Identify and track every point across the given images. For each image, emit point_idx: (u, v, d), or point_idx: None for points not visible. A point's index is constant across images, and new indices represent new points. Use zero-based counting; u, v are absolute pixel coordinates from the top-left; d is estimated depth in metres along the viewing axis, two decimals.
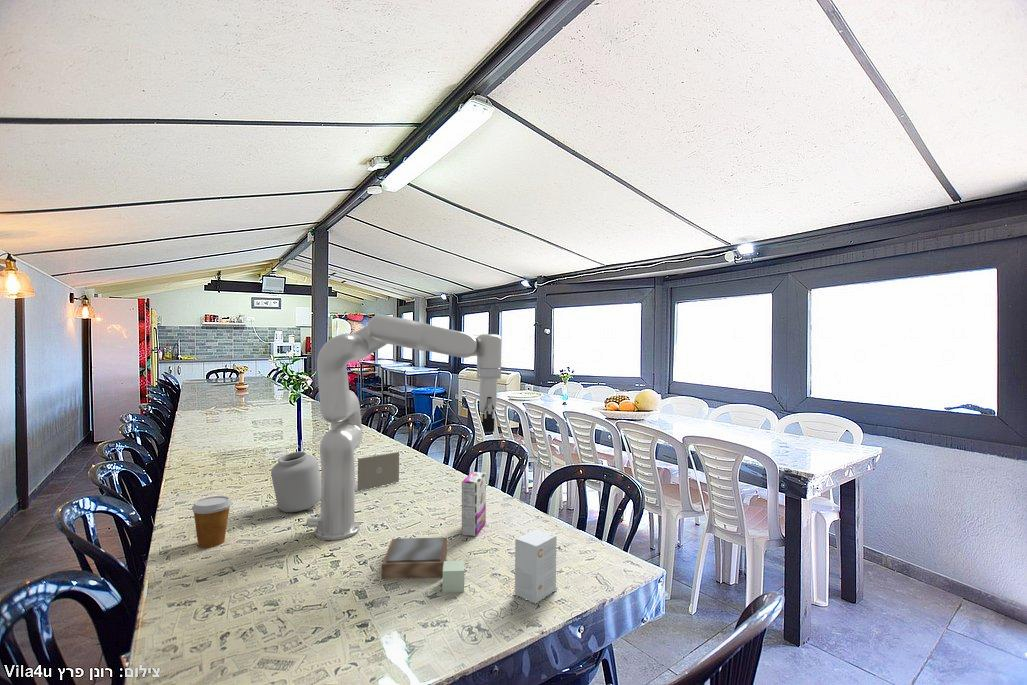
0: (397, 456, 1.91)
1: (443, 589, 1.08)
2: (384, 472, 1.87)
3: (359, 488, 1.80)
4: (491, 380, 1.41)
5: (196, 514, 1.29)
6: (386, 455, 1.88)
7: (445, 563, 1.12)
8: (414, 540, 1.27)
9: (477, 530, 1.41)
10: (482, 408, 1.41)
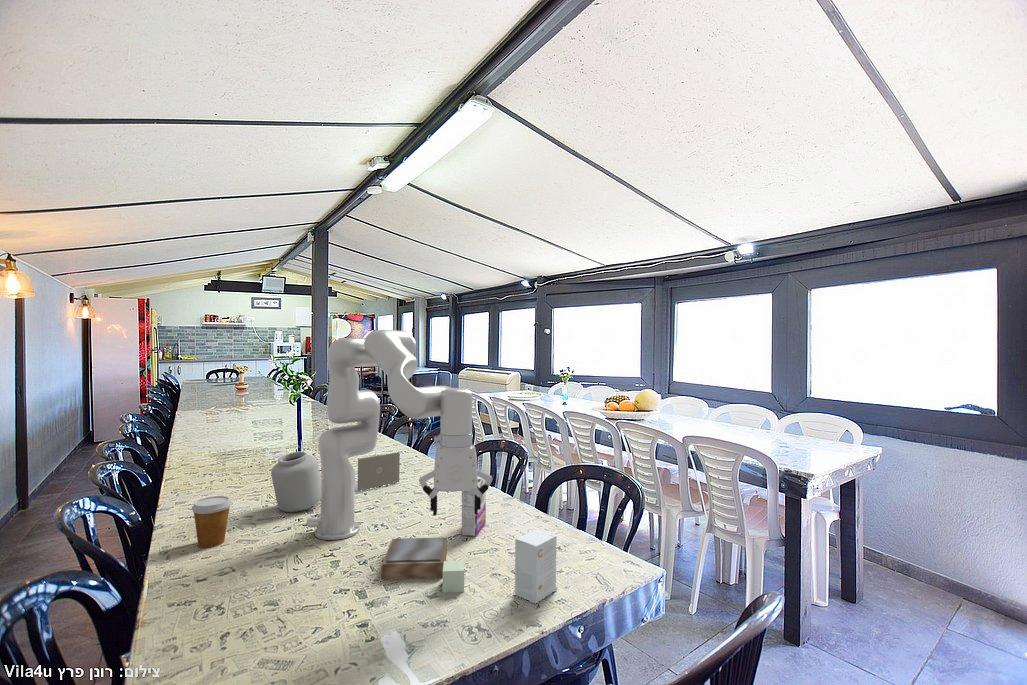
0: (397, 456, 1.91)
1: (443, 589, 1.08)
2: (385, 472, 1.87)
3: (359, 488, 1.80)
4: (474, 447, 1.12)
5: (196, 514, 1.29)
6: (386, 455, 1.88)
7: (445, 563, 1.12)
8: (414, 540, 1.27)
9: (477, 530, 1.41)
10: (476, 485, 1.09)
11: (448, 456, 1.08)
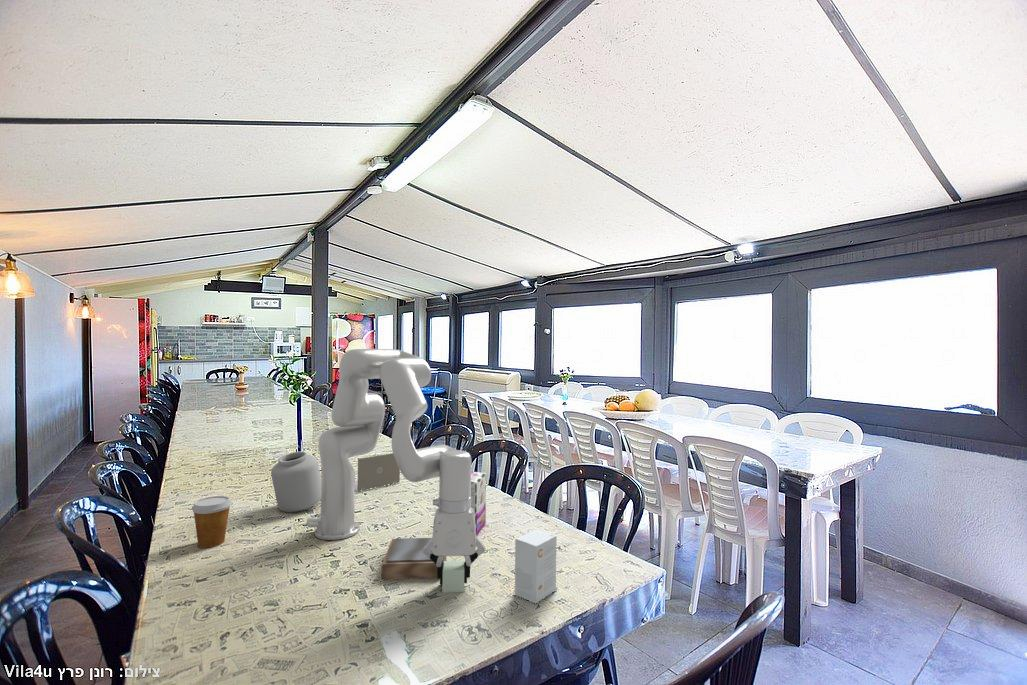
0: None
1: (443, 589, 1.08)
2: (385, 472, 1.87)
3: (359, 488, 1.80)
4: (473, 510, 1.12)
5: (196, 514, 1.29)
6: (386, 455, 1.88)
7: (445, 563, 1.12)
8: (414, 540, 1.27)
9: (477, 530, 1.41)
10: None
11: (446, 521, 1.08)
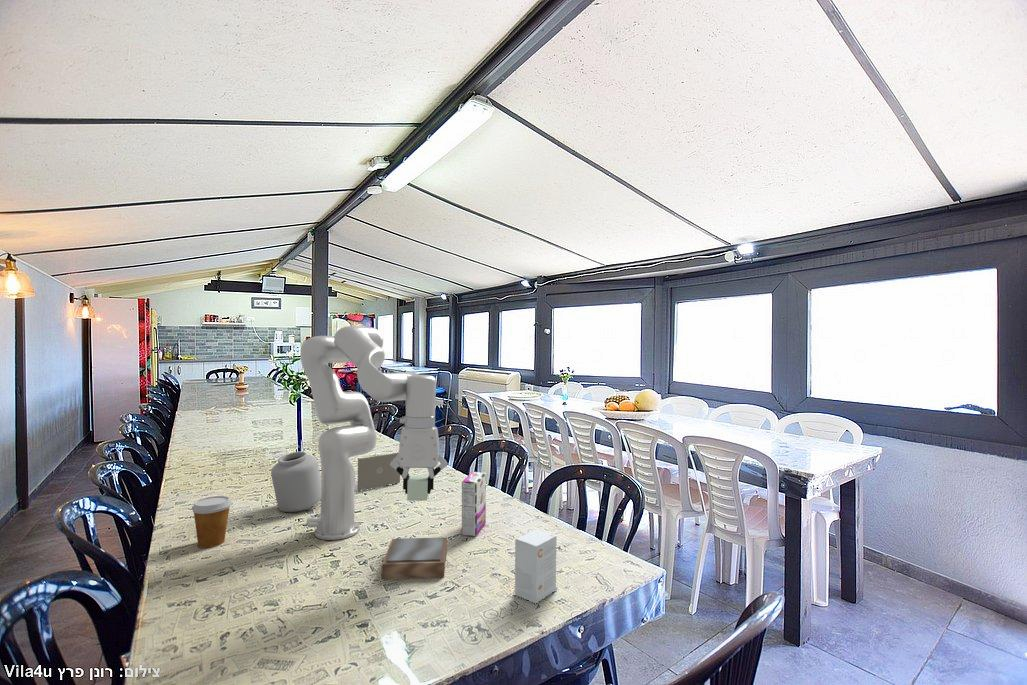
0: None
1: (408, 497, 1.19)
2: (385, 472, 1.87)
3: (359, 488, 1.80)
4: None
5: (196, 514, 1.29)
6: (387, 455, 1.87)
7: (411, 476, 1.23)
8: (414, 540, 1.27)
9: (477, 530, 1.41)
10: (437, 463, 1.20)
11: (411, 436, 1.19)
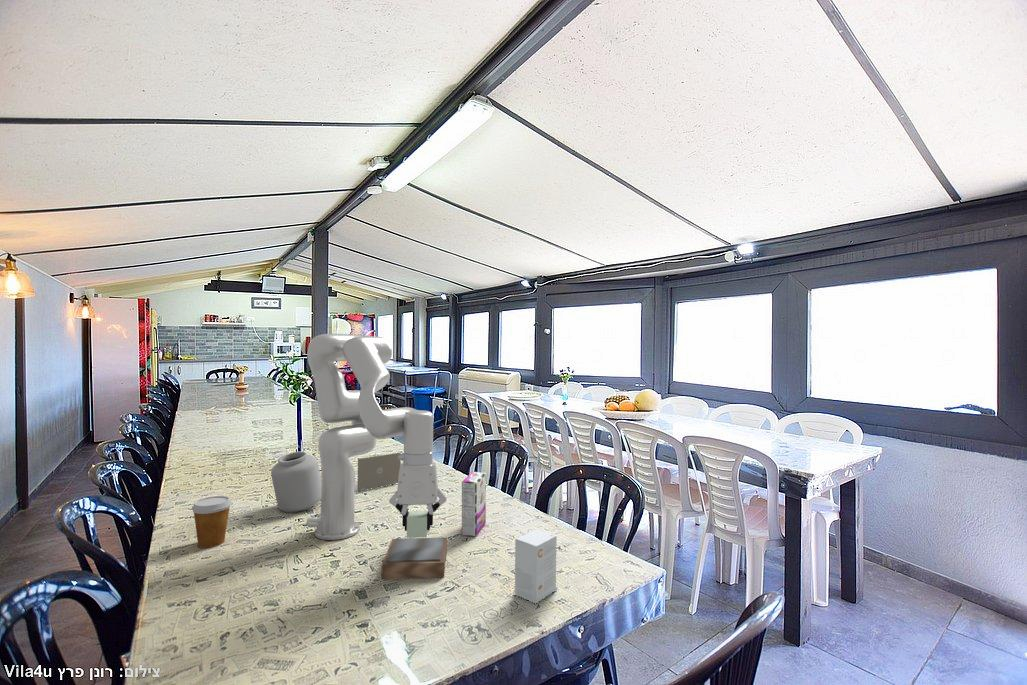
0: None
1: (407, 534, 1.19)
2: (385, 472, 1.87)
3: (359, 488, 1.80)
4: (435, 464, 1.23)
5: (196, 514, 1.29)
6: (387, 455, 1.87)
7: (410, 513, 1.23)
8: (414, 540, 1.27)
9: (477, 530, 1.41)
10: (436, 499, 1.20)
11: (410, 473, 1.19)
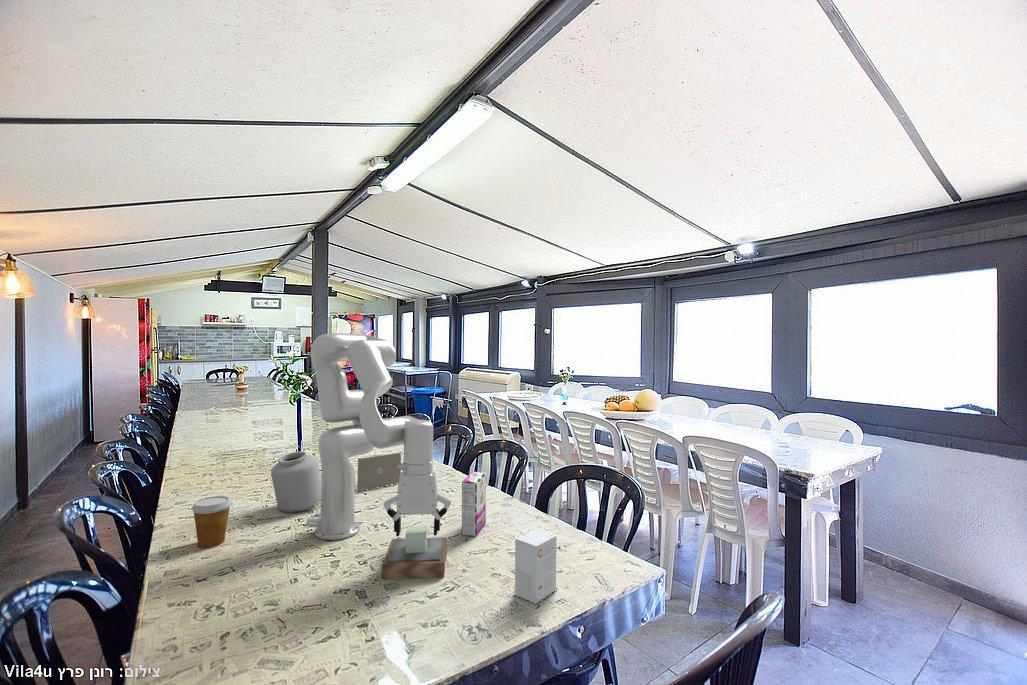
0: (398, 457, 1.90)
1: (406, 549, 1.19)
2: (385, 472, 1.87)
3: (359, 488, 1.80)
4: None
5: (196, 514, 1.29)
6: (387, 456, 1.87)
7: (409, 527, 1.23)
8: None
9: (477, 530, 1.41)
10: (436, 509, 1.20)
11: (409, 483, 1.19)
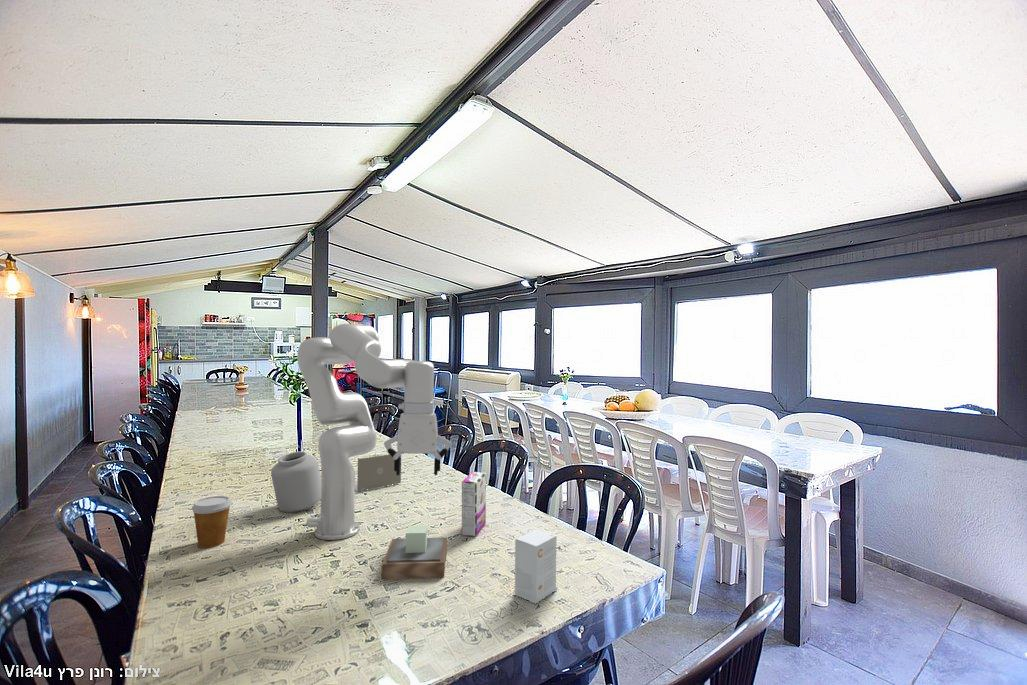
0: None
1: (406, 549, 1.19)
2: (385, 472, 1.87)
3: (359, 488, 1.80)
4: (435, 414, 1.23)
5: (196, 514, 1.29)
6: (387, 456, 1.87)
7: (409, 527, 1.23)
8: None
9: (477, 530, 1.41)
10: (436, 448, 1.21)
11: (410, 421, 1.19)
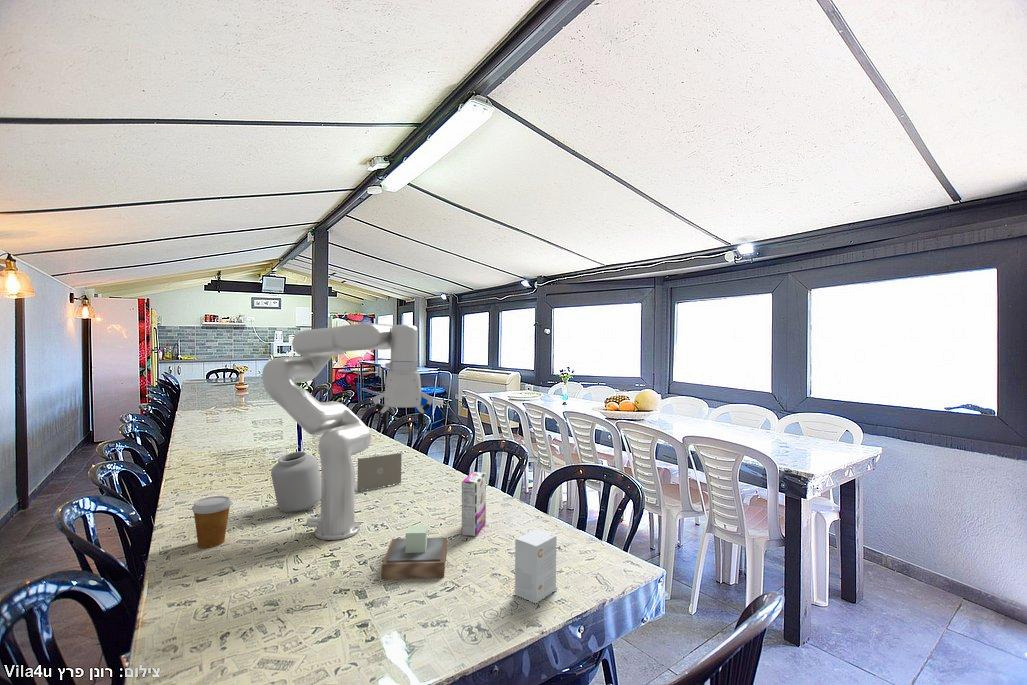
0: (399, 457, 1.90)
1: (406, 549, 1.19)
2: (386, 472, 1.86)
3: (359, 488, 1.80)
4: None
5: (196, 514, 1.29)
6: (387, 456, 1.87)
7: (409, 527, 1.23)
8: None
9: (477, 530, 1.41)
10: (419, 403, 1.34)
11: (396, 378, 1.33)
